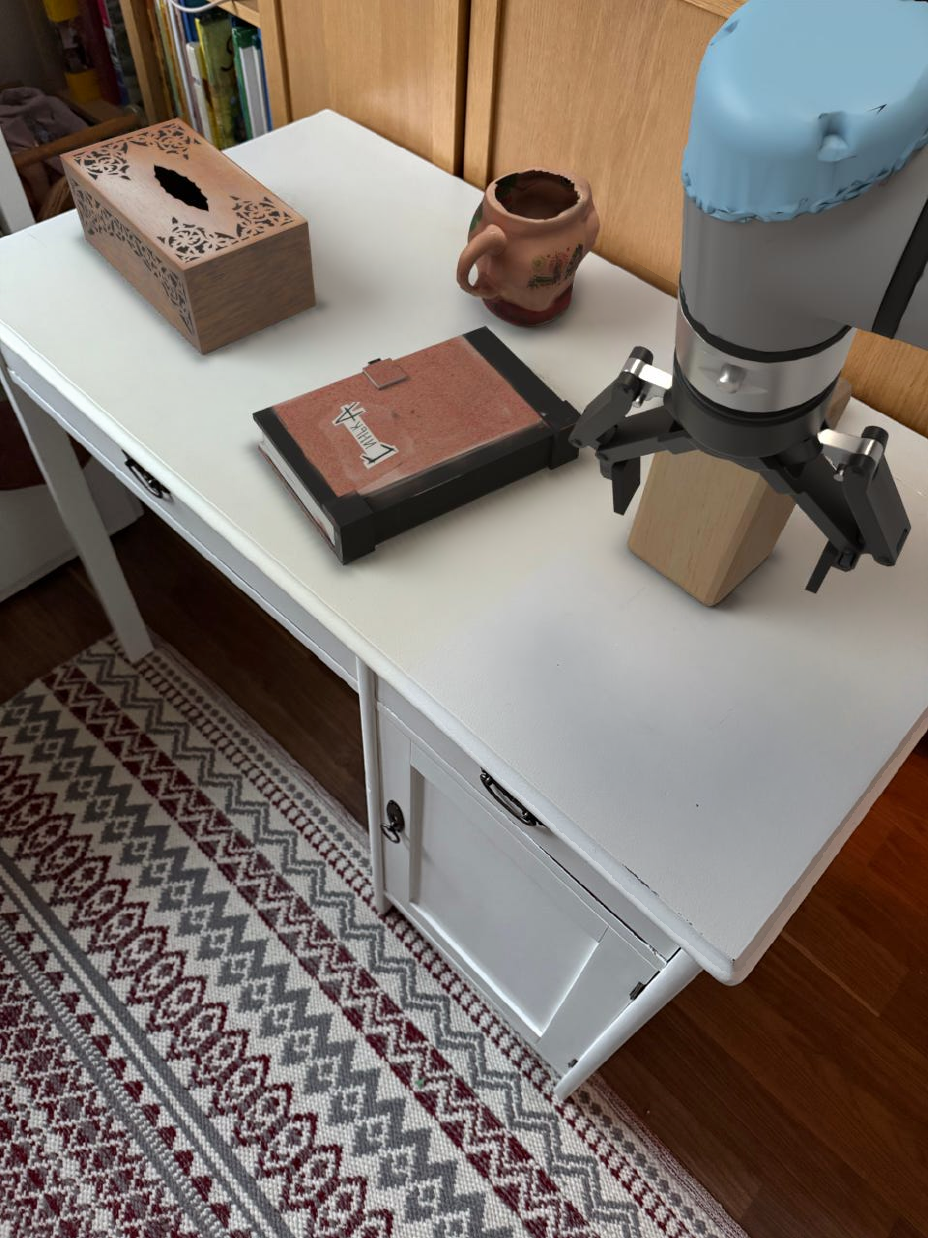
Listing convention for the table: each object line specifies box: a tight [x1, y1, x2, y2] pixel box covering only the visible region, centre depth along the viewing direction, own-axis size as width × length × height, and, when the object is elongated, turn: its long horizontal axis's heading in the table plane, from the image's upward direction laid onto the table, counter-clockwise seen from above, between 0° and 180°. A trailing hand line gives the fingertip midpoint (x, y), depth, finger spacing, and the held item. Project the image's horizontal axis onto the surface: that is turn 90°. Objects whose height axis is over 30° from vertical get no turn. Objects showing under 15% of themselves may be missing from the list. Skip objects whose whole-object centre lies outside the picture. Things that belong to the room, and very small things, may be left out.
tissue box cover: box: [59, 117, 317, 356], centre depth 99 cm, size 26×14×10 cm, turn 40°
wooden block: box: [627, 375, 853, 607], centre depth 75 cm, size 10×10×20 cm
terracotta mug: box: [455, 166, 601, 327], centre depth 97 cm, size 20×12×14 cm, turn 141°
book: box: [251, 325, 582, 566], centre depth 87 cm, size 26×18×5 cm
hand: (719, 534), depth 61 cm, fingers open, 13 cm apart
